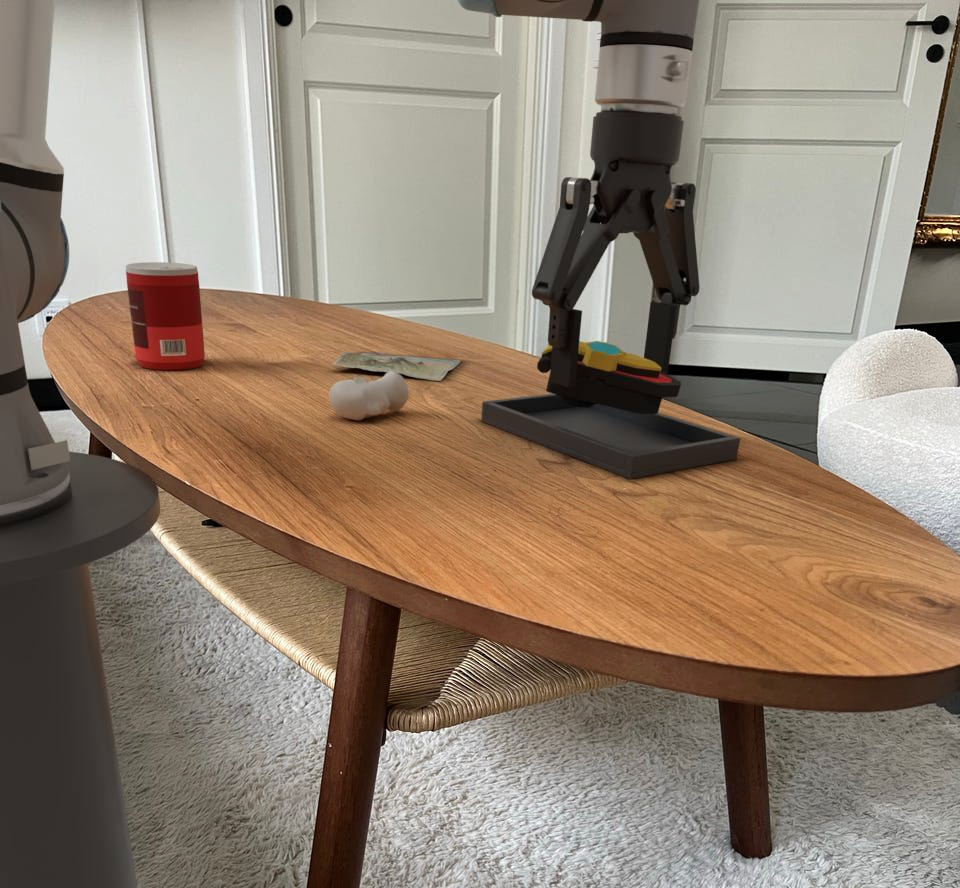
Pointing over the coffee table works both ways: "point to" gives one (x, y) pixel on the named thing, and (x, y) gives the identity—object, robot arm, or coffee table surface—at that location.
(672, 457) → the dark gray tray
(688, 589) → the coffee table surface
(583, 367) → the gadget
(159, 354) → the canned food
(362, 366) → the topographic map
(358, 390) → the smooth white sculpture
